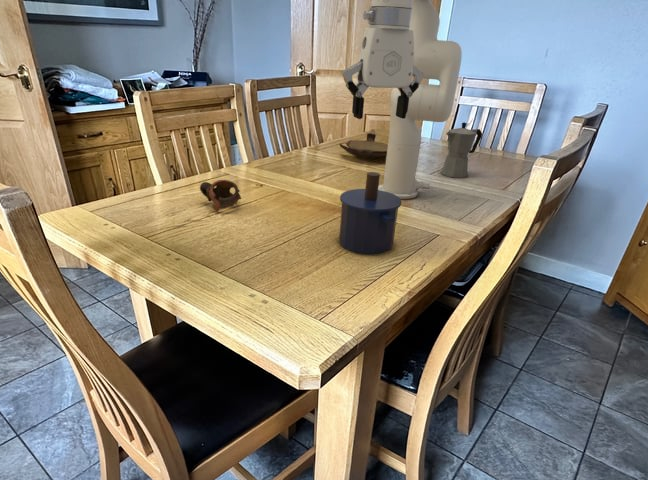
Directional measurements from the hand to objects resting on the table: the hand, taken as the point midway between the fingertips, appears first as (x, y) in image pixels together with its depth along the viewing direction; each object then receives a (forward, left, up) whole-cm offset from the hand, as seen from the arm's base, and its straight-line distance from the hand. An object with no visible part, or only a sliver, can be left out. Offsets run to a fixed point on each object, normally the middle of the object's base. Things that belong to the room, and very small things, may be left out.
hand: (379, 117), depth 90 cm
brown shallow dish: (-15, -84, -28) cm, 90 cm away
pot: (0, 0, -28) cm, 28 cm away
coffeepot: (-43, -61, -28) cm, 80 cm away
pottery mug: (+37, -23, -28) cm, 52 cm away
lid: (0, 0, -18) cm, 18 cm away
